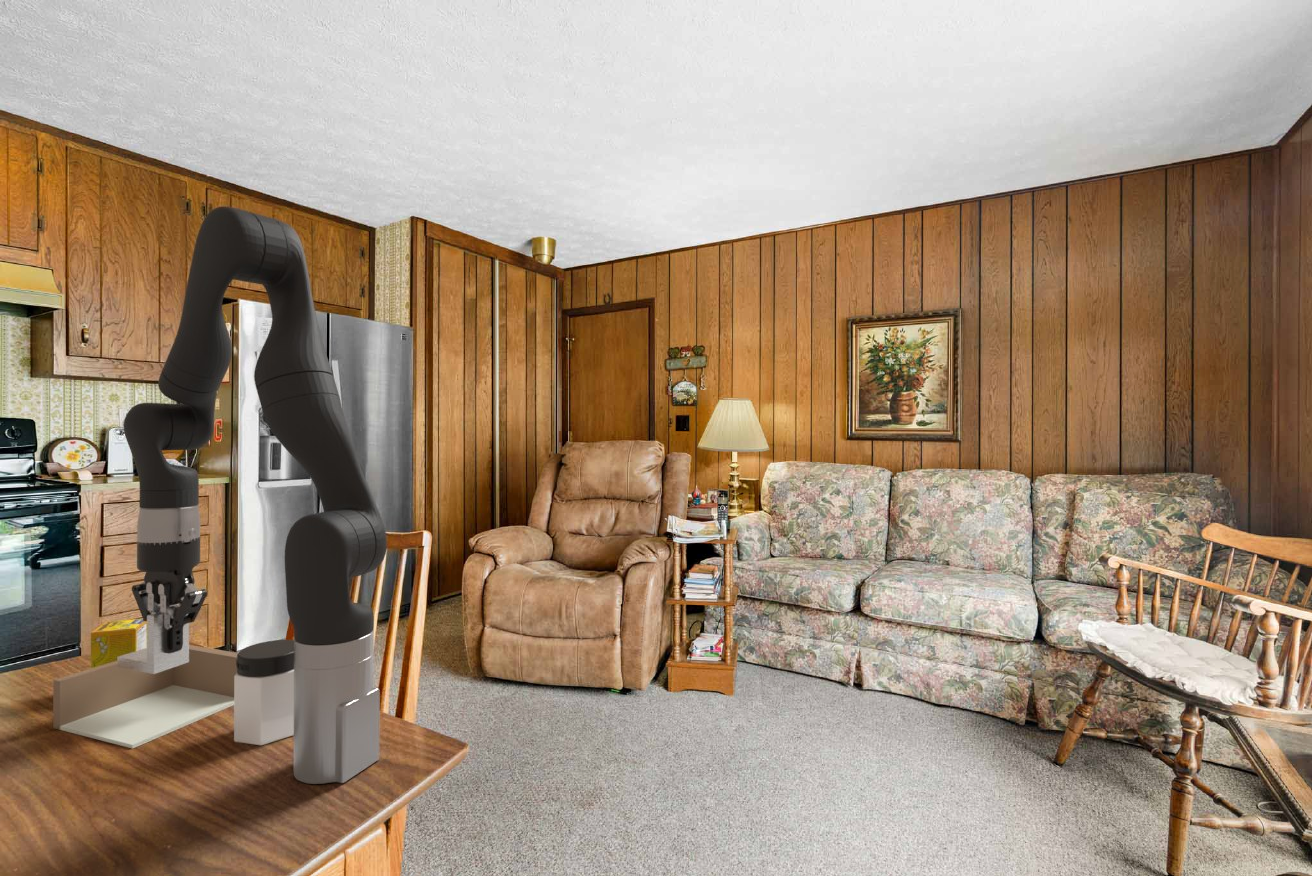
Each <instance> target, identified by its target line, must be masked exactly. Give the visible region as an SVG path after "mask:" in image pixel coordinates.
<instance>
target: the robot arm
mask: <svg viewBox="0 0 1312 876" xmlns="http://www.w3.org/2000/svg"><path fill="white" fill-rule="evenodd" d="M196 236H197V237H196V239H195V242H194V249H193V253H192V258H191V263H190V269H189V273H188V279H187V282H186V288H185V295H184V298H183V299H184V300H183V307H182V310H181V311H182V313H181V317H180V321H179V325H178V329H177V333H176V335H175V338H174V341H173V343H172V346H171V347H170V351H169V352H168V355H167V358H166V360H165V362H164V366H163V367H162V369H161V372H160V375H159V377H158V382H157V383H158V384H157V385H158V389H159V391H160V393H162V394H163V396H165V397H166V398H168V399H169V400H172V401H173V402H176V403H166V402H165V403H161V402H142V403H141V402H140V403H137V404H136V405H134V406H132V407H131V408H130V409H129V410H128V412H127V413H126V415H125V417H124V420H123V432H124V436H125V440H126V442H127V444H128V447H129V450H130V453H131V455H132V458H133V461H134V465H135V469H136V472H137V476H138V480H139V500H138V501H139V505H138V506H139V508H138V510H139V512H138V517H137V524H136V529H137V530H136V568H137V570H138V571H140V572H143V573H144V574H145V575H144V577H143V582H141V583H138V584H133V585H132V586H131V591H132V594H133V597H134V600H135V602H136V604H137V607H138V609H139V612H140V615H141V618H143V620H144V621H147V615H151V614H155V613H159V612H161V613H163V614H164V626H165V628H166V629H164V652H165V653H168V654H170V653H174V652H177V651H180V650H181V649H182V645H183V626H184V625H185V624H187V623H189V624H190V623H194V622H195V620H196V619H197V616H198V614H199V612H200V610H201V608H202V607H203V604H204V602H205V600H206V599H207V596H208V591H207V590H206V589H205V588H203V589H198V588H197V587H196V585H195V581H196V579H195V577H194V572H193V569H195V567H197V566H199V564H200V563H201V514H200V508H199V507H200V506H199V503H200V502H199V500H200V497H199V495H200V494H199V492H200V491H199V489H200V488H199V487H200V486H199V484H200V483H199V482H200V481H199V479H200V477H199V472H198V471H197V470H196V469H194V468H193V467H189V466H185V465H179V464H178V465H177V464H171V463H170V462H168V460H167V459H166V458H165V455H164V454H163V451H193V450H197V449H201V448H202V447H204V446H206V445H207V444H208V443H209V442H210V440H211V439H212V438H213V435H214V429H215V409H216V400H217V394H218V391H219V389H220V386H221V385H222V384H223V380H224V378H225V375H226V373H227V372H228V369H229V367H230V365H231V362H232V357H233V355H232V353H233V347H232V346H233V345H232V340H231V337H230V333H229V331H228V327H227V323H226V321H225V317H224V311H223V300H224V297H225V294H226V292H227V290H228V287H229V286H230V284H231V283H232V281H233V280H234V281H240V282H243V283H244V282H245V283H251V284H256V285H262V286H263V287H264V289H265V291H266V294H267V297H268V301H269V305H270V306H269V307H270V310H271V326H270V329H269V333H268V335H267V336H266V339H265V341H264V343H263V345H262V348H261V351H260V352H259V355H258V358H257V361H256V364H255V368H254V371H253V372H254V375H253V378H254V379H253V380H254V385H255V388H256V393H257V395H258V400H259V402H260V403H259V404H260V407H261V409H262V410H261V411H262V414H263V417H264V420H265V422H266V424H267V427H268V428H269V430H270V431H271V433H272V434H273V435H274V437H275V438H276V439H277V440H278V442H279V443H280V444H281V445H282V446H283V448H284V449H285V450H286V451H287V452H288V453H289V454H290V455H291V457H293V458H294V459H295V461H297V463H299V464H300V466H301V467H302V468H303V470H305V472H306V473H307V475H308V476H309V477H310V479H311V481H312V482H313V484H314V486H315V489H316V491H317V494H318V496H319V498H320V502H321V506H322V509H323V511H321V512H316V513H311V514H308V515H304V516H302V517H300V518H299V519H298V520H296V521H295V522H294V523H293V525H292V526H291V528H290V529H289V532H288V534H287V536H286V540H285V541H286V542H285V545H284V546H285V547H284V572H285V573H284V574H285V588H286V592H285V594H286V607H287V608H286V609H287V614H288V617H289V620H290V622H291V624H292V627H293V640H294V735H293V777H294V778H295V779H296V780H297V781H299V782H301V783H305V784H310V785H311V784H313V785H317V784H319V785H320V784H322V785H323V784H328V783H340V784H344V783H347V781H349V780H350V779H351V778H354V777H355V776H356V775H358V774H359V773H361V772H362V771H363V770H365V769H367V768H368V767H369V766H370V767H371V765H373V764H374V763H376V762H377V761H378V760H380V705H381V703H380V702H381V701H380V697H381V696H380V695H381V693H380V688H377V687H374V650H375V649H374V647H375V645H374V644H375V643H374V642H375V640H374V639H375V638H374V635H375V634H374V633H375V631H374V630H375V629H374V627H375V622H374V621H375V617H374V611H373V609H372V608H371V607H370V606H369V605H367V604H365V603H364V604H363V603H358V602H352V600H351V594H350V592H351V591H350V583H349V582H350V581H349V580H350V579H354V578H356V577H360V576H363V575H366V574H368V573H371V572H373V571H375V570H376V569H378V568H379V566H381V564H383V561H384V560H385V556H386V555H387V549H388V539H387V532H386V528H385V524H384V522H383V521H384V520H383V519H382V516H381V513H380V511H379V508H378V506H377V504H376V501H375V499H374V495H372V491H371V490H370V486H369V484H368V482H367V480H366V477H365V475H364V472H363V470H362V467H361V465H360V461H359V458H358V455H357V452H356V448H355V446H354V443H353V440H352V435H351V433H350V431H349V427H348V424H347V422H346V417H345V413H344V409H343V406H342V402H341V398H340V393H339V390H338V386H337V384H336V380H335V377H334V374H333V370H332V367H331V364H330V362H329V359H328V356H327V351H326V349H325V346H324V345H325V344H324V341H323V336H322V334H321V330H320V329H321V328H320V326H319V322H318V318H317V314H316V310H315V305H314V298H313V292H312V285H311V281H310V275H309V270H308V263H307V258H306V254H305V251H304V247H303V244H302V240H301V238H300V237H299V234H298V233H297V231H296V230H295V229H294V228H293V227H292V226H291V225H290V224H288V223H286V222H284V221H282V220H279V219H276V218H274V217H270V216H266V215H261V214H258V213H255V212H251V211H247V210H244V209H240V208H236V207H232V206H226V205H225V206H224V205H223V206H222V205H221V206H218V207H215V208H213V209H211V210H210V211H209V212H208V213H207V214H206V215H205V217H204V219H203V221H202V223H201V225H200V227H199V231H198V234H197V235H196ZM175 612H177V613H176V615H175V617H174V619H173V613H175ZM187 614H188V615H187Z"/></svg>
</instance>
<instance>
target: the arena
mask: <svg viewBox="0 0 1312 876" xmlns="http://www.w3.org/2000/svg"><path fill="white" fill-rule="evenodd" d="M238 653H239V652H234V651H228V650H224V649H223V650H222V649H217V648H211V647H204V646H199V645H193V644H189V662H188V663H185V664H182V665H179V666H176V667H173V668H171V669H168V670H165V671H162V672H159V673H156V674H151V673H146V672H141V671H136V670H131V669H126V668H121V667H117V661H114V662H111V663H108V664H104V665H101V666H98V667H95V668H91V667H90V668H89V669H84V670H82V671H78V672H76V673H72V674H68V675H66V676H61V677H58V678H56V679H53V681H52V682H53V683H52V685H53V686H52V687H53V689H52V690H53V692H52V693H53V695H52V696H53V697H52V698H53V701H52V704H53V705H52V707H53V709H52V710H53V714H52V715H53V716H52V717H53V719H52V720H53V721H52V722H53V723H52V725H53V726H52V727H53V728H52V729H56V730H60V731H64V732H68V733H71V734H75V735H78V736H82V737H87V738H90V739H95V740H98V741H101V742H105V743H110V744H114V745H116V746H117V745H118V746H120V747H121V746H122V747H125V748H129V749H135V748H137V747H140V746H141V745H144V744H146V743H149V742H151V741H153V740H156V739H158V738H161V737H162V736H165V735H167V734H170V733H173V732H174V731H176V730H179V729H181V728H184V727H187V726H188V725H190V724H193V723H195V722H197V721H200V720H203V719H205V718H207V717H209V716H211V715H213V714H217V713H218V712H221V711H223V710H226V709H228V708H230V707H234V676H235V675H236V674H237V667H236V660H237V654H238Z"/></svg>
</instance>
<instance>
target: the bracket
mask: <svg viewBox="0 0 1312 876" xmlns="http://www.w3.org/2000/svg"><path fill="white" fill-rule="evenodd" d="M176 613H177V612H175V613H173V619H174V617H175V615H176ZM187 615H188V614H187ZM164 629H166V628H165V626H164V614H163V613H161V612H159V613H155V614H151V615H147V648H145V649H142V650H138V651H135V652H132V653H129V654H125V655H122V656H119V657H117V667H121V668H126V669H131V670H136V671H141V672H146V673H151V674H156V673H159V672H162V671H165V670H168V669H171V668H173V667H176V666H179V665H182V664H185V663H188V662H189V645H190V623H187V624H185V625H184V626H183V645H182V649H181V650H180V651H177V652H174V653H170V654H168V653H165V652H164Z"/></svg>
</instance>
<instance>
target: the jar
mask: <svg viewBox="0 0 1312 876" xmlns="http://www.w3.org/2000/svg"><path fill="white" fill-rule="evenodd" d="M237 653H238V654H237V660H236V667H237V674H236V675H235V676H234V705H233V741H234V742H235V743H241V744H242V743H243V744H248V745H249V744H250V745H253V746H255V745H256V746H265V745H267V744H270V743H274V742H277V741H280V740H283V739H286V738H289V737H294V639H275V640H269V641H264V642H259V643H255V644H251V645H248V646H247V647H244V648H242V649H240V650H239V651H238V652H237Z"/></svg>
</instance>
